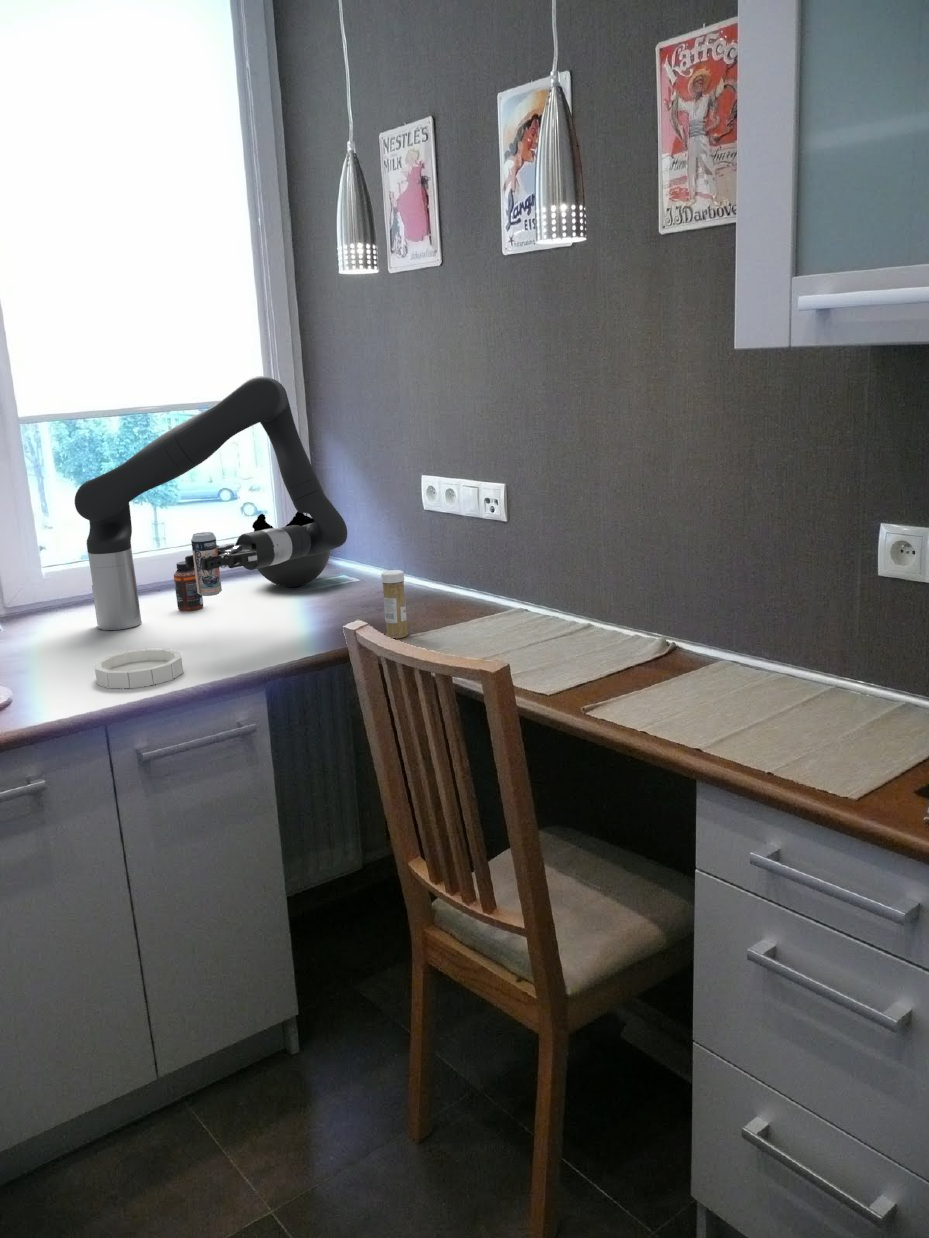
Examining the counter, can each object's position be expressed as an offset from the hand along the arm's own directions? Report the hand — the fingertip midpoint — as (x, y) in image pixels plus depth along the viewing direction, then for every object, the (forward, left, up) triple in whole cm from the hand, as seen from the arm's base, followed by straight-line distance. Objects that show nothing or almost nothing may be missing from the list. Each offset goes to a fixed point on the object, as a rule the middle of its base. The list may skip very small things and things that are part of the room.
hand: (194, 563), depth 201 cm
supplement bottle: (-37, +22, -19) cm, 47 cm away
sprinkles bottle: (+24, +30, -19) cm, 43 cm away
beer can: (0, +3, -7) cm, 7 cm away
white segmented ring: (+1, -15, -18) cm, 24 cm away
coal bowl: (-34, +51, -19) cm, 64 cm away
